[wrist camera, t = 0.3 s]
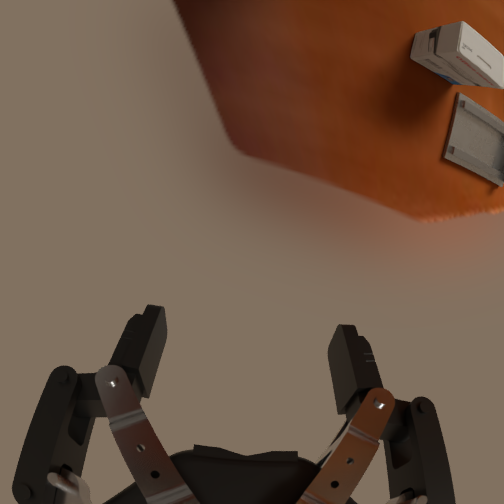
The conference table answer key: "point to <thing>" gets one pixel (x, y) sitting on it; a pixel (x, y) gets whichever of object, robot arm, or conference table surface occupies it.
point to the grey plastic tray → (476, 140)
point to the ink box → (459, 55)
